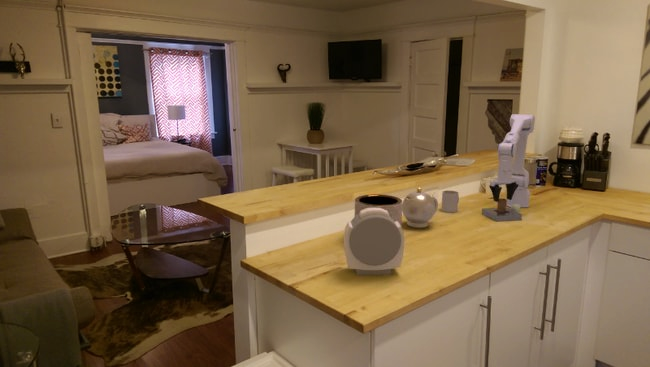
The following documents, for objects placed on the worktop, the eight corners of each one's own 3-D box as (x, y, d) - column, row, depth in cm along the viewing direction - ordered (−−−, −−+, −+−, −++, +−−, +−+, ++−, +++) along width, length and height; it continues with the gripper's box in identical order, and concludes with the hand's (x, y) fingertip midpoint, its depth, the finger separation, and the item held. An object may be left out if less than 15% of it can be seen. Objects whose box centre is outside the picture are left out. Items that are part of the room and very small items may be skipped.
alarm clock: (398, 265, 143) (401, 205, 138) (404, 276, 134) (406, 212, 130) (343, 266, 142) (343, 205, 138) (345, 277, 134) (346, 213, 130)
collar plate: (505, 212, 203) (506, 207, 203) (521, 220, 192) (522, 214, 191) (481, 213, 201) (482, 208, 201) (496, 221, 190) (496, 215, 189)
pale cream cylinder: (516, 212, 204) (517, 203, 203) (521, 214, 200) (521, 205, 200) (509, 212, 203) (510, 204, 202) (513, 214, 200) (514, 206, 199)
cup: (438, 210, 207) (439, 192, 205) (451, 207, 213) (452, 188, 211) (451, 213, 201) (452, 194, 199) (464, 210, 207) (465, 191, 205)
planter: (363, 250, 156) (364, 207, 153) (347, 234, 173) (348, 195, 170) (409, 245, 161) (411, 203, 158) (389, 230, 178) (390, 192, 174)
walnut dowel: (501, 215, 199) (502, 198, 197) (507, 217, 195) (508, 200, 194) (494, 216, 197) (496, 198, 196) (500, 218, 194) (502, 200, 192)
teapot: (414, 233, 174) (416, 192, 171) (393, 224, 186) (394, 186, 182) (448, 226, 183) (450, 187, 180) (425, 218, 195) (427, 181, 191)
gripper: (510, 167, 198) (507, 196, 201) (485, 169, 193) (483, 200, 196) (523, 170, 192) (520, 200, 195) (497, 172, 186) (495, 203, 189)
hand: (502, 200), depth 195 cm, fingers open, 7 cm apart
